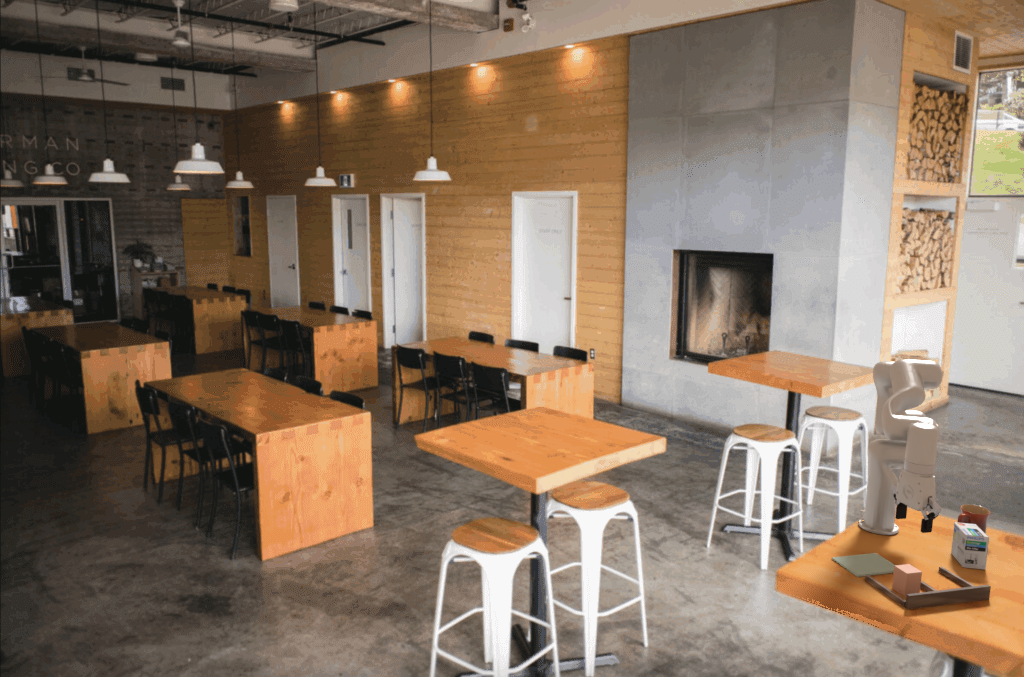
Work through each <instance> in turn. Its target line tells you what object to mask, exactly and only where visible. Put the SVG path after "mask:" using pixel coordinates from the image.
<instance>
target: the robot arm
mask: <svg viewBox="0 0 1024 677" xmlns="http://www.w3.org/2000/svg"><path fill="white" fill-rule="evenodd" d="M872 380H873V382H874V387H875V390H876V395H877V396H876V397H877V398H876V407H875V409H876V410H875V418H874V419H875V420H874V427H875V431H876V433H877V434H879V435H881V436H883V437H886V438H877V439H873V440H871V441H870V442H869V444H868V445H867V460H868V461H867V464H868V466H867V467H868V468H867V470H868V471H867V484H866V495H865V506H864V507H862V509H859V510H858V513H859V514H860V515H862V516H861V517H862V518H860V519H859V520H858V526H859V527H860V529H862V530H864V531H867V532H870V533H872V534H876V535H877V534H878V535H882V536H891V535H896V534H898V533H899V532H900V530H899V529H900V527H899V525H897V524H896V523H895V520H905V519H907V514H908V508H911V509H913V510H915V511H918V512H921V514H922V516H923V518H921V523H920V532H921V534H926V533H927V534H928V533H931V532H933V523H934V520H935V519H936V518H938V517H939V516H940V515H939V514H940V513H941V511H942V507H941V505H940V504H938V503H937V501H936V476H935V468H936V460H937V450H938V442H939V435H940V426H939V424H938V423H937V421H936V420H935V419H933V418H930V417H927V415H926V414H925V413H924V412H922V411H920V410H915V409H914V408H917V407H919V406H921V405H922V404H924V402H925V400H926V391H925V390H927V391H928V390H934V389H937V388H939V387H940V385H942V381H943V369H942V368H941V366H940V364H939V363H938V362H937V361H934V360H927V359H926V360H924V359H922V360H921V359H909V358H907V359H898V360H895V361H885V360H884V361H879V362H877V363H876V364H874V366H873V369H872ZM913 409H914V410H913ZM893 469H894V470H897V469H898V470H900V473H899V477H897V475H896V474H895V473H894V472H893ZM862 520H864V521H862ZM859 522H860V523H859Z"/></svg>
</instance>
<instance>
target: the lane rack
mask: <svg viewBox="0 0 1024 677" xmlns="http://www.w3.org/2000/svg"><path fill="white" fill-rule="evenodd" d="M938 572H939V573H940V574H942V575H944V576H946V577H947V578H949V579H951V580H953V581H954V582H955V583H958V584H959V585H961V586H963V587H958V588H957V587H956V588H950V589H949V588H948V589H940V590H937V589H936V588H934V587H933V586H931V585H929V584H928V583H926V582H924V581H923V580H921V586H920V589H922V590H924V592H922V591H921V592H920V593H913V594H907V596H905V597H906V598H903V597H902V596H900V595H899V594H897V593H896V592H894V591H893V590H891V589H890V588H888V587H887V586H885V585H884V584H883V583H882V582H880V581H878V580H877V579H875V578H874V577H873V576H872V575H870V576H869V575H865V576H864V580H865V581H866V582H867V583H869V584H870V585H872V586H873V587H874V588H876V589H878V590H879V591H881V593H883V594H885V595H886V596H887V597H889V598H890V599H892V600H893V601H894V602H895V603H897V604H899V605H900V606H902V607H904V609H906V610H907V611H908V610H909V611H910V610H914V609H915V610H917V609H923V608H924V609H925V608H931V607H932V608H933V607H939V606H947V605H949V606H950V605H955V604H965V603H971V602H972V603H973V602H981V601H987V600H988V601H989V600H990V598H991V597H990V595H991V588H992V586H991V585H990V584H983V585H975V584H973V583H971V582H969V581H967V580H965V579H964V578H962V577H961V576H959V575H957V574H956V573H954V572H953V571H951V570H948V569H947V568H945V567H944V566H939V567H938Z"/></svg>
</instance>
